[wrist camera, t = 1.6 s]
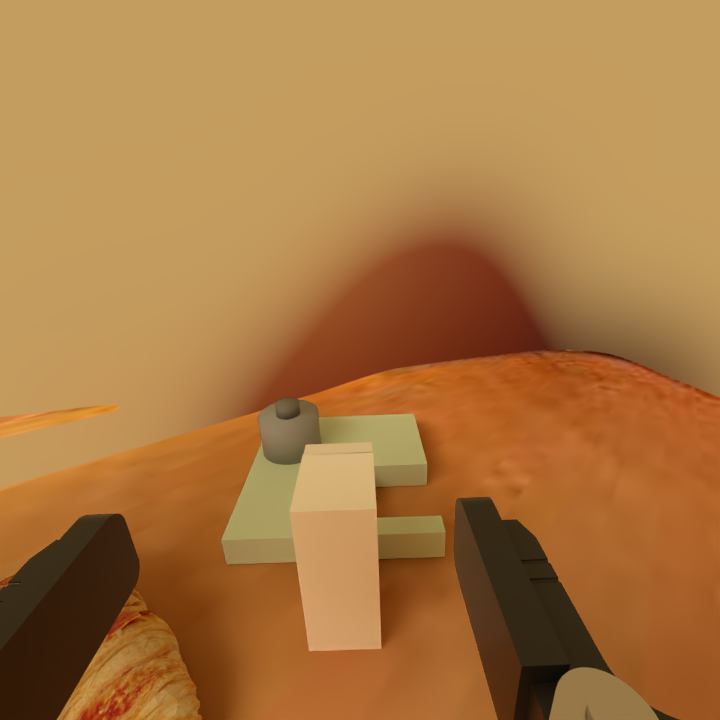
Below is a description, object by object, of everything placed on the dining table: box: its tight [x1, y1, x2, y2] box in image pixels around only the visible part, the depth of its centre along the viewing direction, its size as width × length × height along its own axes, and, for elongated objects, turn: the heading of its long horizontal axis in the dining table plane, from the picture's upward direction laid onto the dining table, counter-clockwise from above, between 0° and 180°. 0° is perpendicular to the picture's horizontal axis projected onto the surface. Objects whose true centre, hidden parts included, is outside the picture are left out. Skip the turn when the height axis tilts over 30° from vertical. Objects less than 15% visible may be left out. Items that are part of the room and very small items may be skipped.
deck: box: [221, 398, 446, 564], centre depth 37 cm, size 17×18×8 cm
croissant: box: [0, 576, 202, 720], centre depth 22 cm, size 21×10×8 cm, turn 71°
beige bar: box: [289, 442, 382, 651], centre depth 25 cm, size 4×6×11 cm
